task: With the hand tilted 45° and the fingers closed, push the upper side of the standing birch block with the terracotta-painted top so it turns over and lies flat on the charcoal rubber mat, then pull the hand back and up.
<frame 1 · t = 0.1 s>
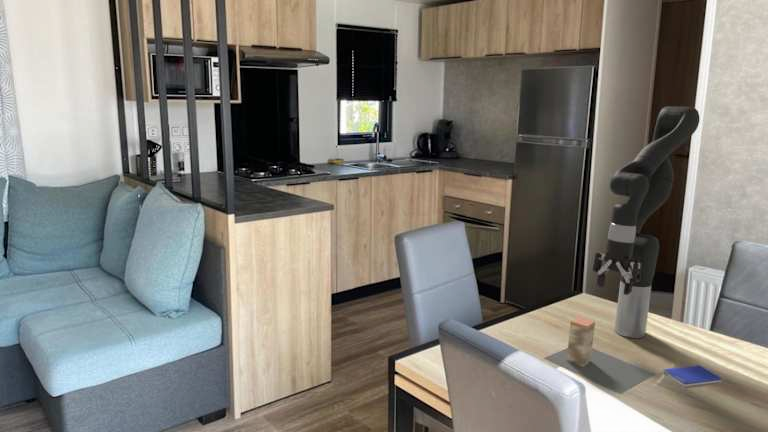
hand: (613, 290, 173), 17 cm above the table, tool pointing down, fingers open, 8 cm apart
hard drive: (690, 379, 156), on the table
birch block: (578, 361, 162), point 1 cm above the table, touching rubber mat
rubber mat: (598, 367, 160), on the table
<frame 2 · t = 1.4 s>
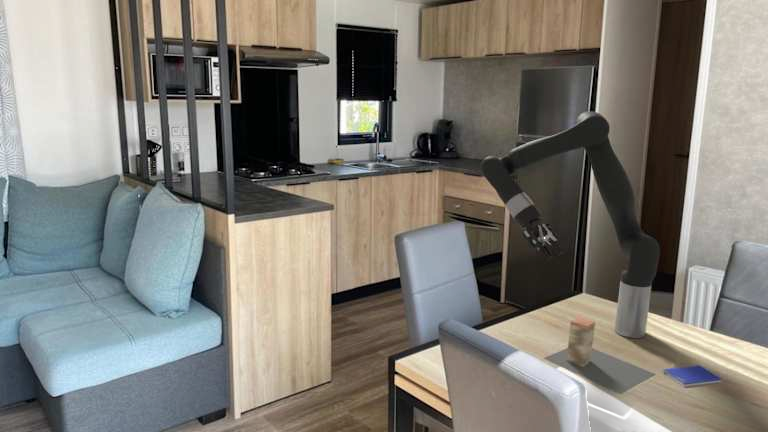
hand: (555, 255, 169), 28 cm above the table, tool tilted 45°, fingers open, 6 cm apart
nothing on the table moved.
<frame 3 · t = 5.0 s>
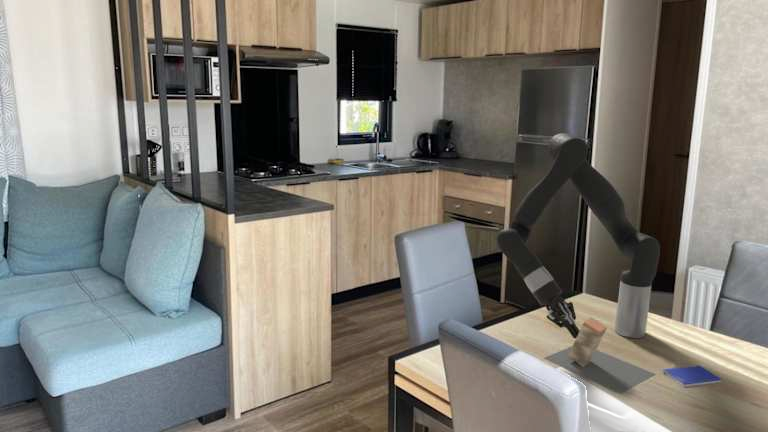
hand: (578, 336, 162), 8 cm above the table, tool tilted 45°, fingers closed
birch block: (579, 358, 162), point 1 cm above the table, tilted 17°, touching rubber mat
everything else where it was.
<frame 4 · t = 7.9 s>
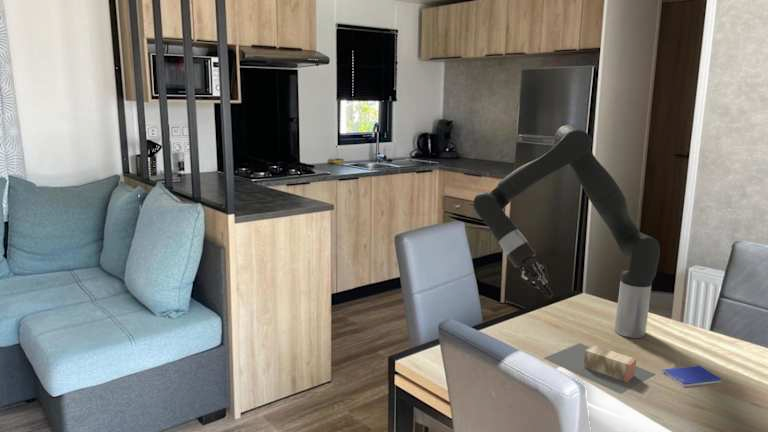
hand: (550, 296, 165), 17 cm above the table, tool tilted 45°, fingers closed
birch block: (588, 355, 160), point 3 cm above the table, tilted 90°, touching rubber mat
everything else where it was.
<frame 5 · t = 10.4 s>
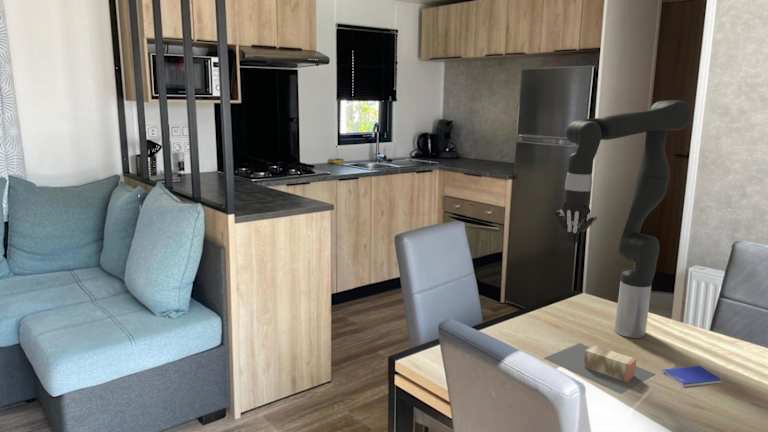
hand: (572, 243, 173), 31 cm above the table, tool pointing down, fingers closed
nothing on the table moved.
at the end: birch block tilted 90°; birch block inside the target area (3.6 cm from its centre), point 3.1 cm above the table; birch block touching rubber mat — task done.
